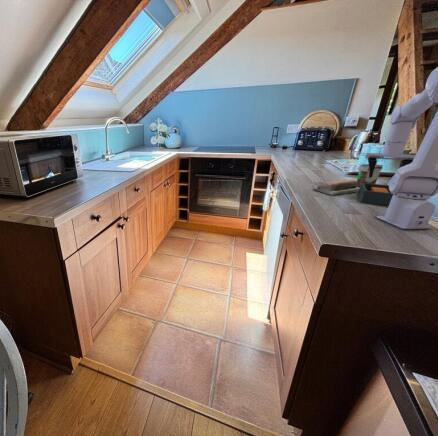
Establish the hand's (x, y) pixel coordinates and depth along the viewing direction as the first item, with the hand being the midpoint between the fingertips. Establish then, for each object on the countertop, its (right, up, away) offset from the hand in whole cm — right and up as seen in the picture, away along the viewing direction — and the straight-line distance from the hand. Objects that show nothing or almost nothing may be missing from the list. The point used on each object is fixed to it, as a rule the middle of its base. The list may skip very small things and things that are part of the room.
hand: (382, 178), depth 95 cm
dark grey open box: (+2, -8, +4) cm, 10 cm away
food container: (+13, 0, +25) cm, 28 cm away
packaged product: (-5, -3, +17) cm, 18 cm away
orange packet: (+2, -8, +4) cm, 9 cm away
